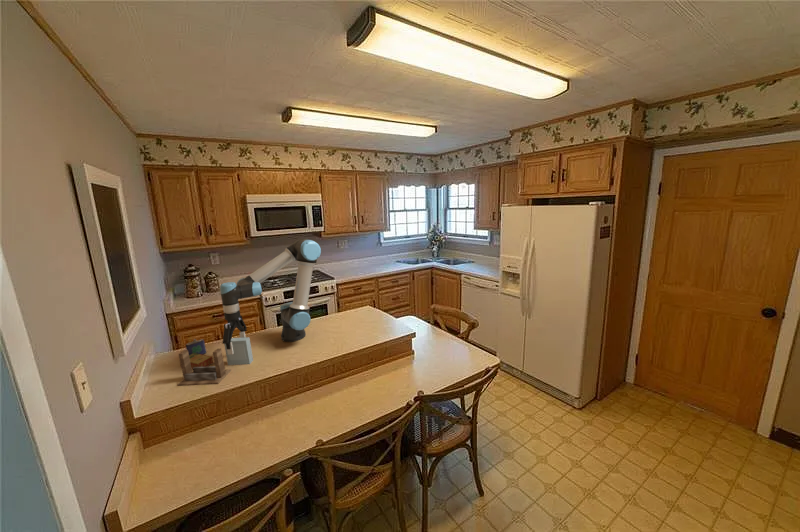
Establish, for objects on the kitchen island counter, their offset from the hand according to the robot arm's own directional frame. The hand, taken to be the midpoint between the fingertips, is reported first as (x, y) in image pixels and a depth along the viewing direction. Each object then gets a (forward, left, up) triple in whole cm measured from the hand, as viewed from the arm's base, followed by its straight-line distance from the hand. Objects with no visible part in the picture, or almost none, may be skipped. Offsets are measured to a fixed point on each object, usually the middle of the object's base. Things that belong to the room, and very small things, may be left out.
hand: (237, 348), depth 168 cm
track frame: (+11, +14, -9) cm, 20 cm away
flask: (+31, -11, -9) cm, 34 cm away
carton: (+25, -1, -9) cm, 26 cm away
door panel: (0, 0, -9) cm, 9 cm away
